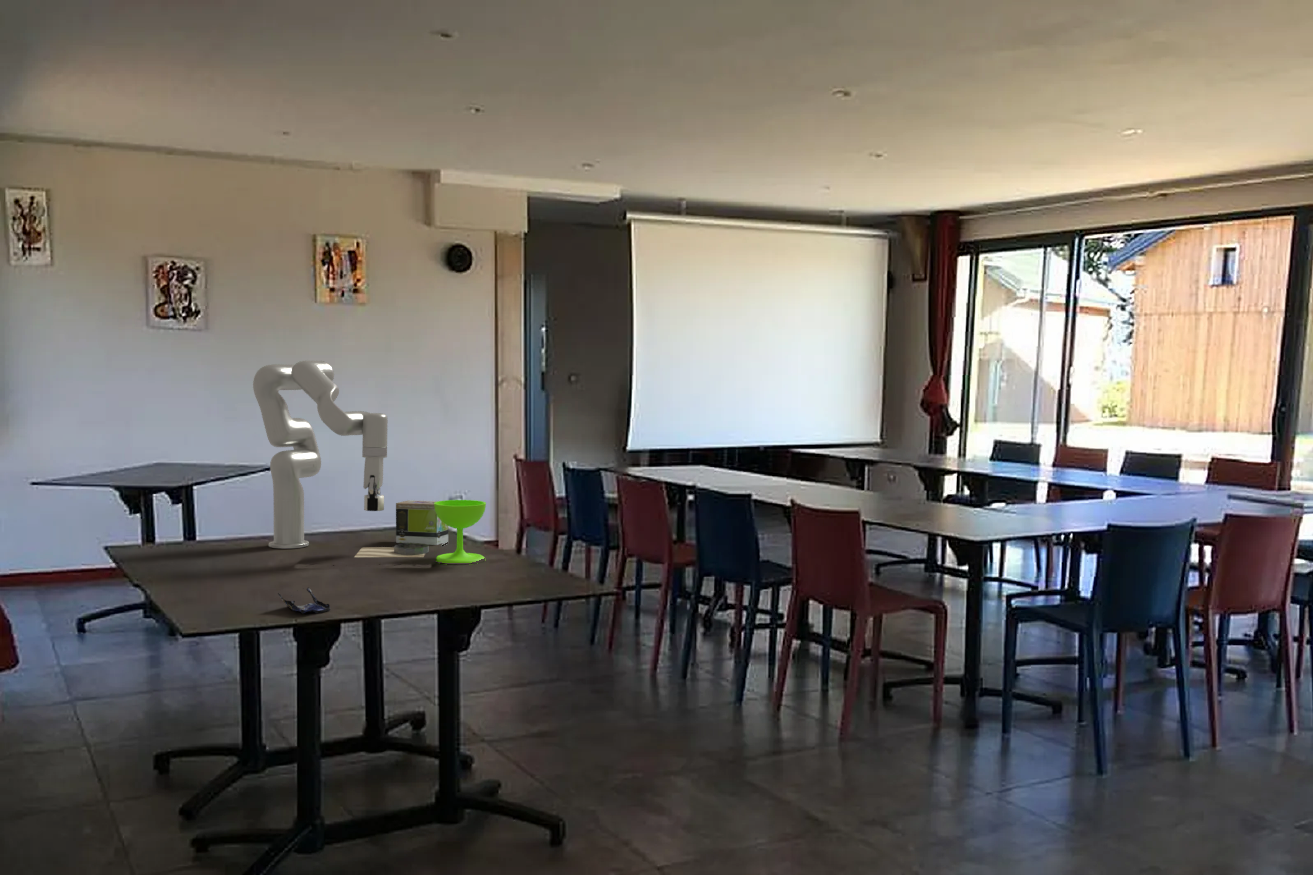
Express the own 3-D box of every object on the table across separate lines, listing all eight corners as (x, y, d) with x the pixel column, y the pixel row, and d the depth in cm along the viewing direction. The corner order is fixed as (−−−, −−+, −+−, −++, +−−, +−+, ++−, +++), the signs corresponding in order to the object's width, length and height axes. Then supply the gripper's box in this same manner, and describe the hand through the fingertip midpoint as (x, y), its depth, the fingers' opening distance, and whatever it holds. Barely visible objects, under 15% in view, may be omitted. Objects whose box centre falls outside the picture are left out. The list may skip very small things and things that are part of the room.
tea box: (449, 544, 370) (449, 500, 369) (436, 548, 360) (436, 504, 359) (408, 541, 373) (408, 498, 372) (394, 546, 364) (395, 502, 363)
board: (362, 551, 353) (362, 547, 353) (428, 551, 355) (428, 547, 355) (353, 561, 335) (353, 557, 335) (423, 560, 337) (423, 557, 337)
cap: (365, 508, 346) (365, 493, 346) (384, 508, 347) (385, 494, 347) (362, 510, 340) (363, 496, 340) (382, 511, 341) (382, 496, 341)
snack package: (323, 605, 275) (275, 607, 270) (325, 581, 274) (276, 583, 269) (332, 623, 265) (282, 626, 260) (334, 598, 264) (283, 601, 258)
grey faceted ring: (396, 549, 350) (396, 543, 350) (429, 549, 352) (429, 543, 351) (392, 554, 340) (392, 548, 340) (427, 554, 341) (427, 548, 341)
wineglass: (473, 554, 351) (474, 498, 350) (493, 562, 337) (494, 504, 336) (425, 558, 342) (426, 501, 341) (444, 566, 329) (445, 507, 328)
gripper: (366, 449, 350) (365, 505, 352) (358, 454, 333) (357, 513, 334) (390, 450, 351) (389, 505, 353) (383, 455, 334) (382, 513, 335)
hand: (373, 508), depth 343 cm, fingers closed on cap, 6 cm apart
